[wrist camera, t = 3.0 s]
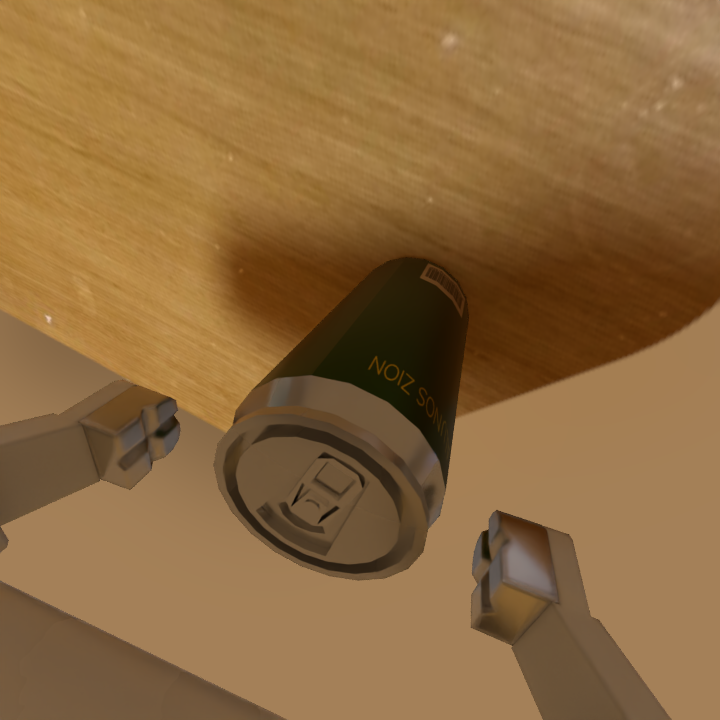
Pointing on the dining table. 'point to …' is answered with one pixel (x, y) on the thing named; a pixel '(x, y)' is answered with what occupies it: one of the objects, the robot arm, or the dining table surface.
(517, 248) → the dining table surface
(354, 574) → the beer can
